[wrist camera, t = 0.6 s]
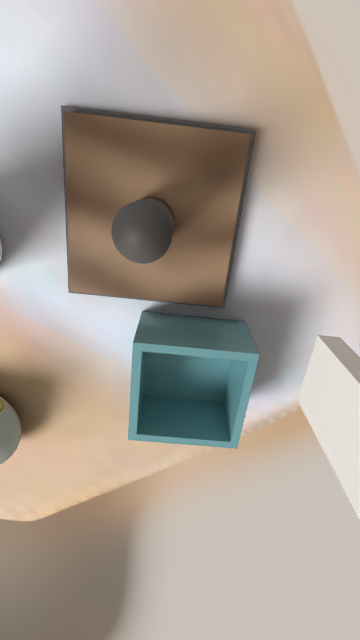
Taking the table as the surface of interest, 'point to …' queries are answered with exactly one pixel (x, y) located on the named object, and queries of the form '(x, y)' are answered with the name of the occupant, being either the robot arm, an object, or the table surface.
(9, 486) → the table surface
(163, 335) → the teal storage bin
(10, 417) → the air freshener
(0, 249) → the milk bottle
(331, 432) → the robot arm
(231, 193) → the lid
